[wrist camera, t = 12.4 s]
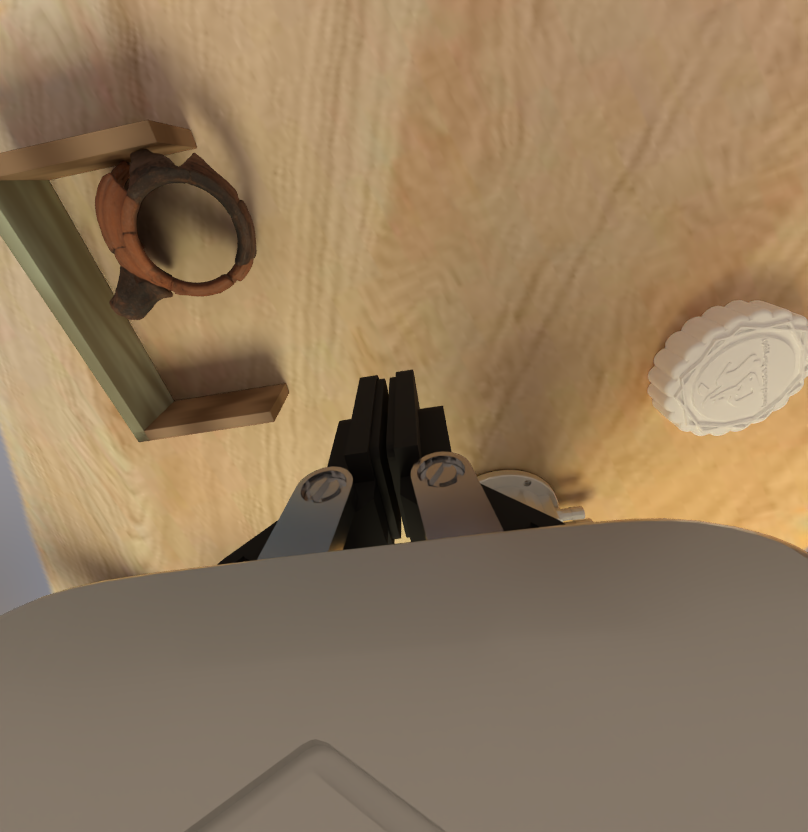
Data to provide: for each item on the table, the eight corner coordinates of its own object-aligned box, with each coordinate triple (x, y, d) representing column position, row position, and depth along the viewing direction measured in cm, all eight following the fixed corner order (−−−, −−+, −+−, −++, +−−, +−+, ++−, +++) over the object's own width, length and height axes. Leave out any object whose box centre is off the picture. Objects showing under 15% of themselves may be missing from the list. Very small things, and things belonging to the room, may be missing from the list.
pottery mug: (128, 110, 25) (129, 103, 19) (261, 204, 31) (292, 219, 26) (63, 274, 27) (48, 311, 22) (200, 329, 34) (215, 369, 28)
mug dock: (190, 129, 25) (147, 119, 21) (289, 392, 35) (274, 421, 31) (25, 166, 26) (-48, 163, 22) (169, 411, 36) (138, 442, 32)
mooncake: (635, 336, 33) (659, 352, 30) (790, 272, 30) (833, 282, 27) (654, 436, 39) (675, 458, 36) (785, 389, 36) (821, 409, 33)
